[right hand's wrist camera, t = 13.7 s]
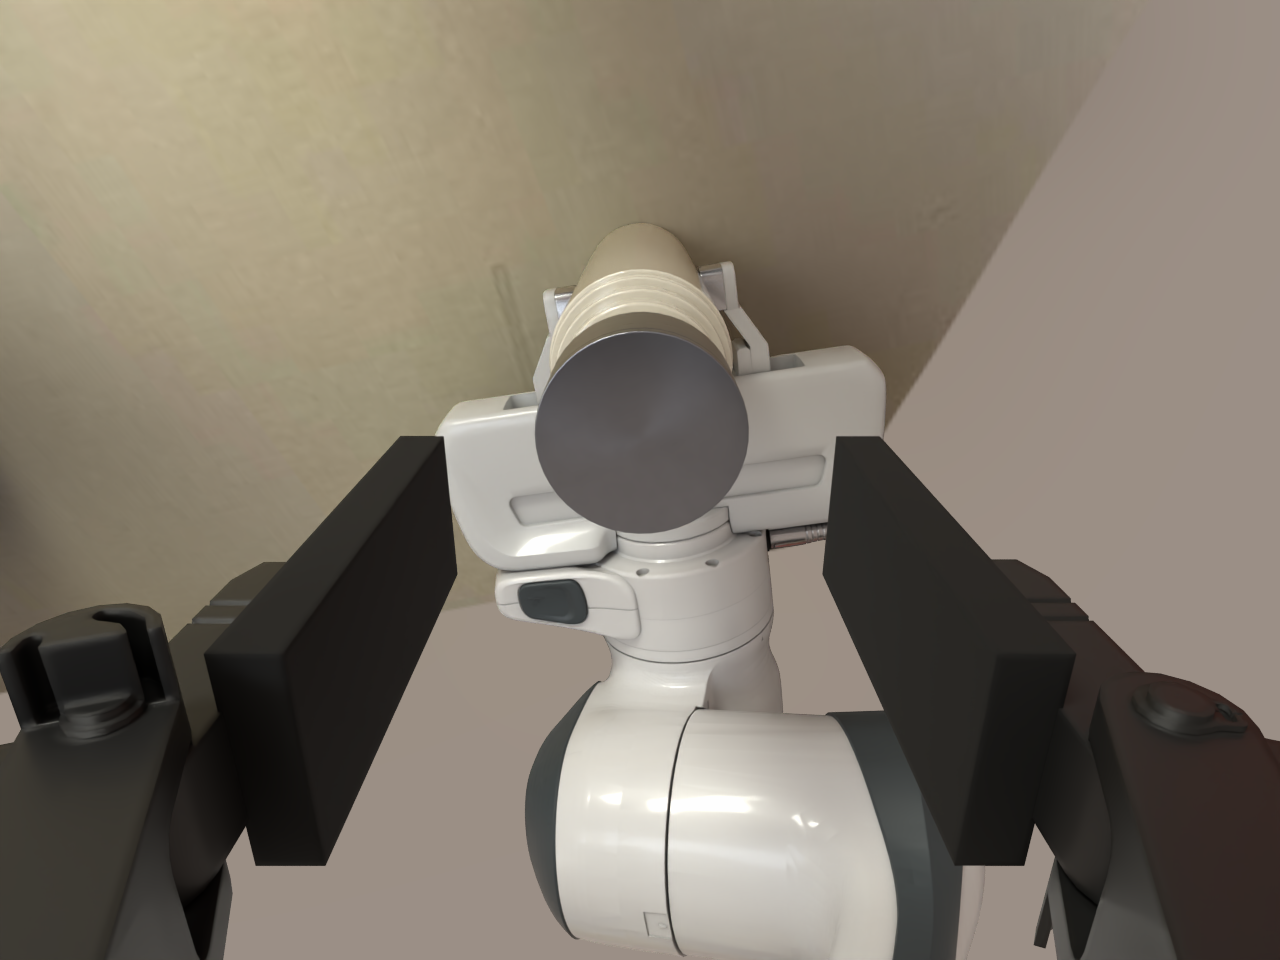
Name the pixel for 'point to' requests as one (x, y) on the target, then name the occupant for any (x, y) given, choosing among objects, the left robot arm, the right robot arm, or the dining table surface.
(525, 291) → the dining table surface
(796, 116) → the dining table surface
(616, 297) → the bottle
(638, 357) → the cap
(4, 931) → the right robot arm
